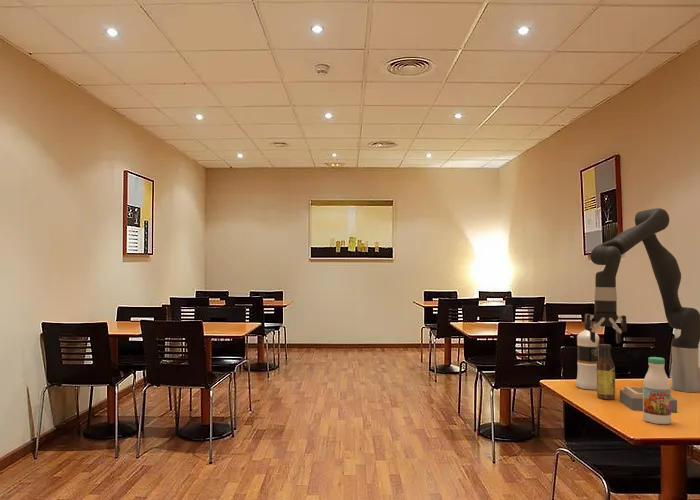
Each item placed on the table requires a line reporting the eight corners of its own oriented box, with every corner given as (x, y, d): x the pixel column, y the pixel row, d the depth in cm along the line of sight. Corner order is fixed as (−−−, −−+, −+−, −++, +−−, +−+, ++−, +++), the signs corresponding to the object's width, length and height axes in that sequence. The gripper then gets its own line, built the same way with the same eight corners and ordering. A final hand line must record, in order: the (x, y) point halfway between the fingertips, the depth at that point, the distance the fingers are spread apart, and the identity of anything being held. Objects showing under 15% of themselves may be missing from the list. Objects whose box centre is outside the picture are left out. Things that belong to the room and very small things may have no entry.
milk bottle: (637, 418, 176) (637, 355, 177) (660, 418, 177) (660, 355, 177) (653, 425, 168) (652, 359, 169) (676, 424, 169) (676, 359, 170)
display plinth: (661, 402, 198) (661, 387, 198) (677, 412, 184) (676, 395, 184) (619, 400, 201) (619, 385, 201) (632, 410, 187) (632, 393, 187)
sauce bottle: (617, 400, 200) (617, 346, 201) (599, 399, 202) (598, 345, 202) (612, 396, 207) (612, 343, 208) (594, 395, 208) (594, 343, 209)
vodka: (579, 384, 229) (579, 312, 230) (603, 387, 223) (602, 313, 224) (573, 388, 221) (573, 313, 223) (597, 391, 216) (597, 315, 217)
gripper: (622, 299, 208) (622, 342, 207) (583, 298, 211) (583, 340, 210) (629, 300, 201) (629, 344, 200) (587, 299, 203) (587, 343, 203)
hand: (605, 342), depth 205 cm, fingers open, 8 cm apart
